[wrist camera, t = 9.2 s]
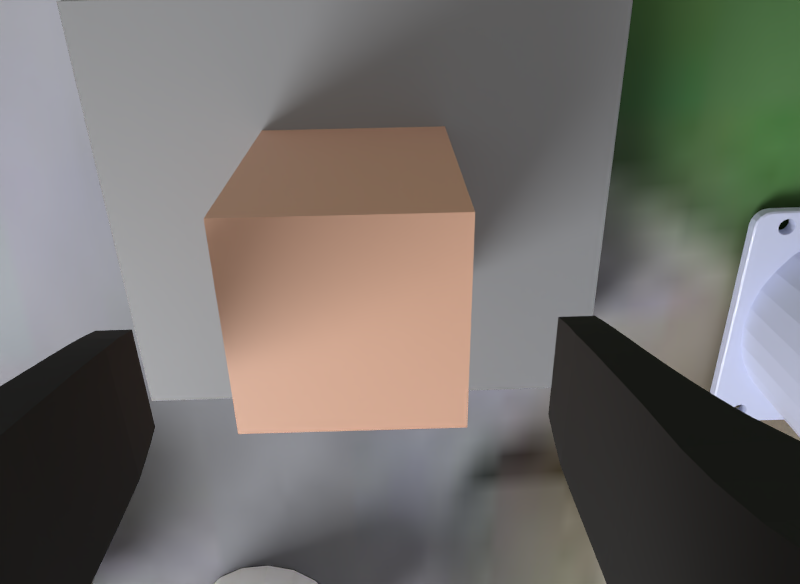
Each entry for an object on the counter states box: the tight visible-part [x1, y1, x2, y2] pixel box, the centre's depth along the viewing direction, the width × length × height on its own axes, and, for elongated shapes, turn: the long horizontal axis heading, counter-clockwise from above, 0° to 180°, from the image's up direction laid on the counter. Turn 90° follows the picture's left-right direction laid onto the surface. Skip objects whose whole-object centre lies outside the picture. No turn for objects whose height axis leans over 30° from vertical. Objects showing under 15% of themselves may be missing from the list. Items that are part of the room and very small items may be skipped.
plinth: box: [57, 0, 633, 401], centre depth 19 cm, size 13×11×3 cm
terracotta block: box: [204, 126, 475, 434], centre depth 15 cm, size 4×4×6 cm
